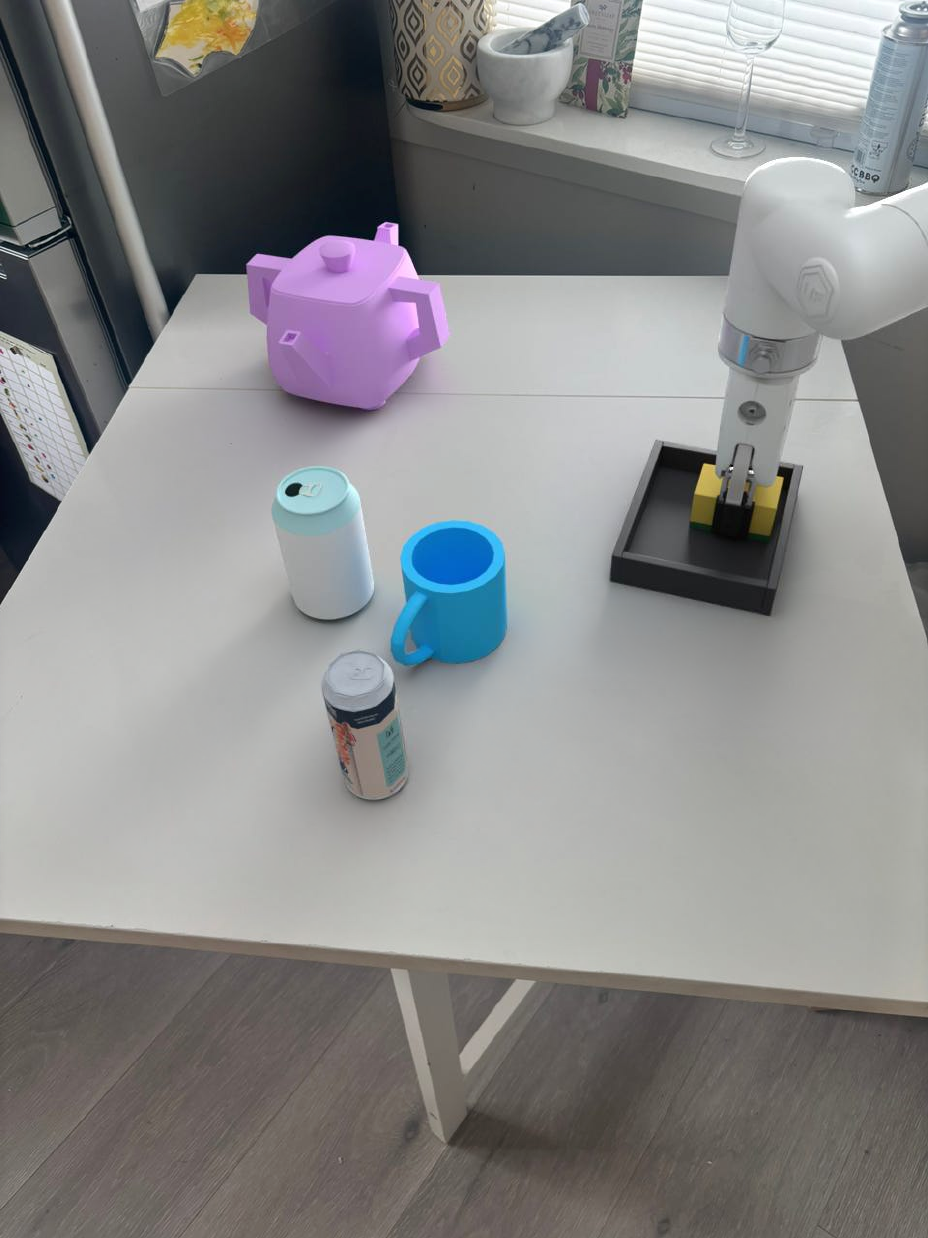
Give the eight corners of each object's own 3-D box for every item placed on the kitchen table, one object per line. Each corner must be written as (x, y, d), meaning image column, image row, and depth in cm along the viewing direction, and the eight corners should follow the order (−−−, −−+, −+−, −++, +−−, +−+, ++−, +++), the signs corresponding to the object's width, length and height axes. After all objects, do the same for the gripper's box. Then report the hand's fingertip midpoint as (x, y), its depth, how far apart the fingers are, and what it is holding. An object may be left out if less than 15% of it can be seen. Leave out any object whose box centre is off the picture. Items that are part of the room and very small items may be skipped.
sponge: (775, 511, 90) (783, 476, 87) (768, 543, 87) (776, 508, 84) (698, 497, 92) (703, 462, 89) (688, 528, 89) (694, 493, 86)
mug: (448, 578, 87) (442, 507, 81) (526, 615, 83) (525, 544, 77) (360, 665, 81) (346, 595, 75) (439, 710, 77) (432, 641, 71)
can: (309, 635, 83) (283, 529, 74) (283, 583, 88) (255, 476, 79) (387, 607, 85) (370, 499, 76) (357, 556, 89) (338, 450, 80)
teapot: (302, 449, 100) (275, 314, 89) (247, 362, 112) (217, 232, 101) (472, 394, 106) (466, 260, 95) (403, 316, 117) (390, 188, 106)
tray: (797, 491, 92) (803, 465, 90) (769, 616, 82) (776, 590, 80) (652, 464, 96) (655, 439, 94) (609, 581, 86) (611, 555, 83)
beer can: (348, 749, 75) (324, 644, 66) (411, 749, 75) (395, 644, 66) (341, 803, 72) (314, 701, 63) (406, 803, 72) (389, 701, 63)
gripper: (807, 406, 69) (762, 589, 83) (833, 286, 80) (789, 466, 93) (699, 389, 71) (672, 570, 85) (738, 275, 82) (709, 452, 95)
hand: (734, 514), depth 89 cm, fingers closed on sponge, 4 cm apart
